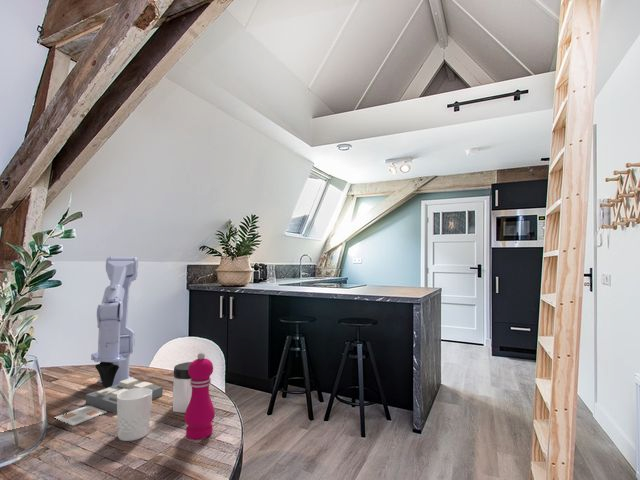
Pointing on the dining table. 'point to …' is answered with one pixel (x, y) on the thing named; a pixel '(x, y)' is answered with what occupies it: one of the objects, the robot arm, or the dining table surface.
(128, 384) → the button
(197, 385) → the pepper mill
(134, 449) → the dining table surface
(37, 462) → the dining table surface
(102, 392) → the button
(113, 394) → the button
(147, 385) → the button
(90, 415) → the card
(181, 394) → the jar
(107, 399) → the button board
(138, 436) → the white cup
